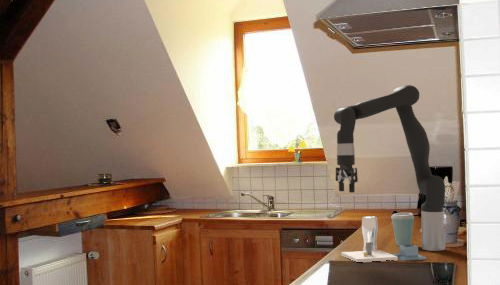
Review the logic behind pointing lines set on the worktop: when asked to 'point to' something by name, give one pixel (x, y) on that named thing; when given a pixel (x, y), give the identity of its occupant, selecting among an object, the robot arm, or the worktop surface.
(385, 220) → the worktop surface
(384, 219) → the worktop surface
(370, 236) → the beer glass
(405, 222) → the disposable coffee cup
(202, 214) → the worktop surface
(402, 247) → the flange
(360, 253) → the post base
